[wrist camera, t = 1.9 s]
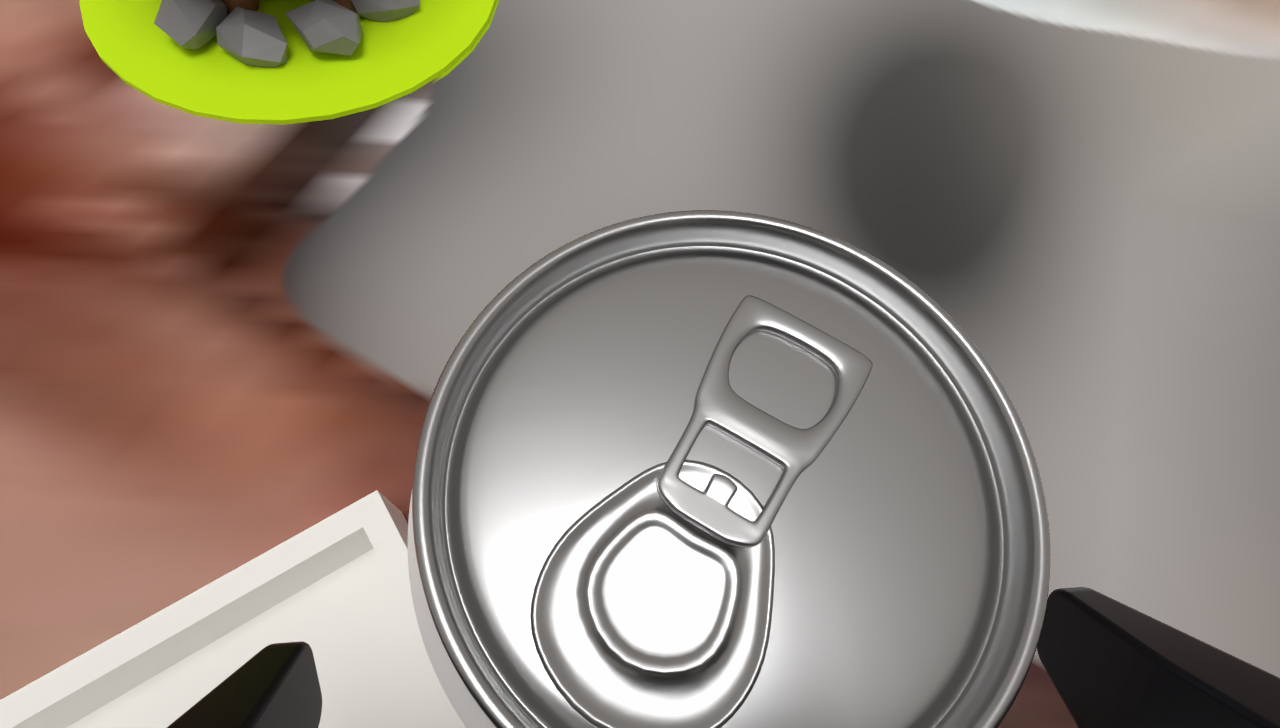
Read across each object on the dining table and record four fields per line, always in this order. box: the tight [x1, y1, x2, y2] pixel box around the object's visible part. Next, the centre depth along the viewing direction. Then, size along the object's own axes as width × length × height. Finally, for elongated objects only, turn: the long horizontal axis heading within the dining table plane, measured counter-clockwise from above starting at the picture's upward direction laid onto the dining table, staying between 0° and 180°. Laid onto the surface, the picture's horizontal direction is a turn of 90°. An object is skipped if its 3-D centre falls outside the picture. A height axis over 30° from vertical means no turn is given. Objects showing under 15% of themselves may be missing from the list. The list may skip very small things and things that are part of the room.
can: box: [408, 210, 1050, 728], centre depth 11 cm, size 6×6×12 cm
